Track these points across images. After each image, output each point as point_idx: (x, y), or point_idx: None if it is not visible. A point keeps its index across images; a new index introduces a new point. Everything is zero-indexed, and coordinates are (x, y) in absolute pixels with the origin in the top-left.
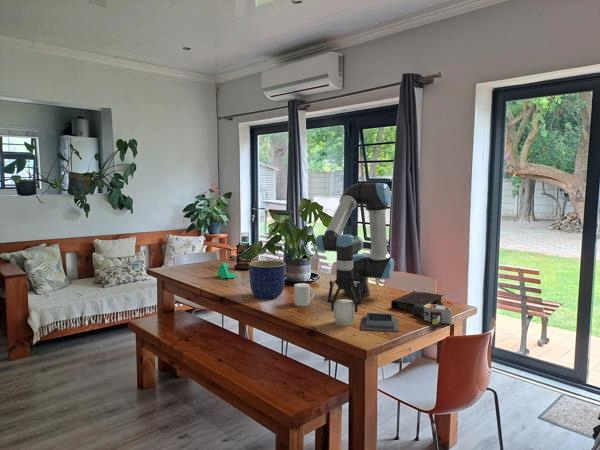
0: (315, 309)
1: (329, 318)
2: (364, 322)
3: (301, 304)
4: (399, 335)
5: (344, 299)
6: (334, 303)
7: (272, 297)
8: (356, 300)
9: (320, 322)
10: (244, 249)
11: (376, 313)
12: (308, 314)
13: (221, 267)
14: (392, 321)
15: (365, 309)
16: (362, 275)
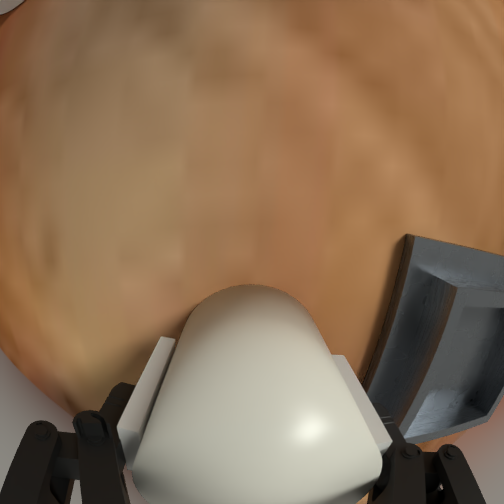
0: (57, 29)
1: (129, 236)
2: (389, 373)
3: (5, 7)
4: (452, 442)
5: (272, 429)
6: (123, 441)
7: None
8: (414, 486)
9: (82, 332)
10: None
11: (499, 297)
12: (5, 153)
13: None
14: (488, 414)
15: (425, 20)
16: None
